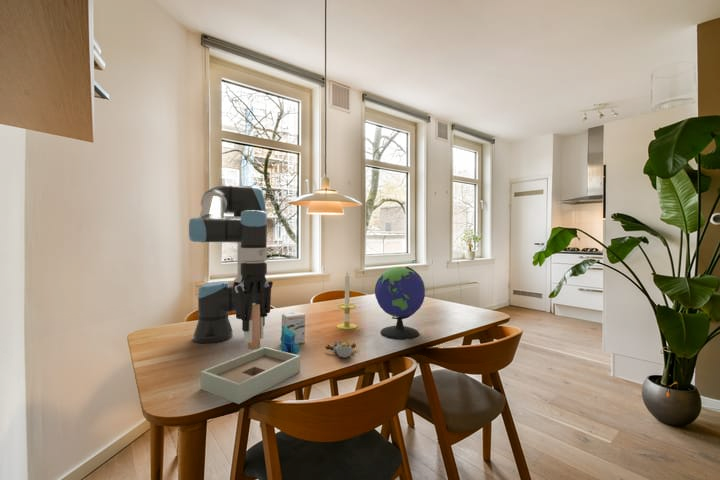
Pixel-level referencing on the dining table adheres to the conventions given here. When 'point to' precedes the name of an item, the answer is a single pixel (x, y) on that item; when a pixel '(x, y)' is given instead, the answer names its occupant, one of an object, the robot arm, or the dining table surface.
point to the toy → (342, 348)
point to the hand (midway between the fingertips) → (253, 339)
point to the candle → (346, 308)
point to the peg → (255, 326)
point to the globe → (400, 299)
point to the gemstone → (288, 341)
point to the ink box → (295, 325)
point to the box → (249, 374)
